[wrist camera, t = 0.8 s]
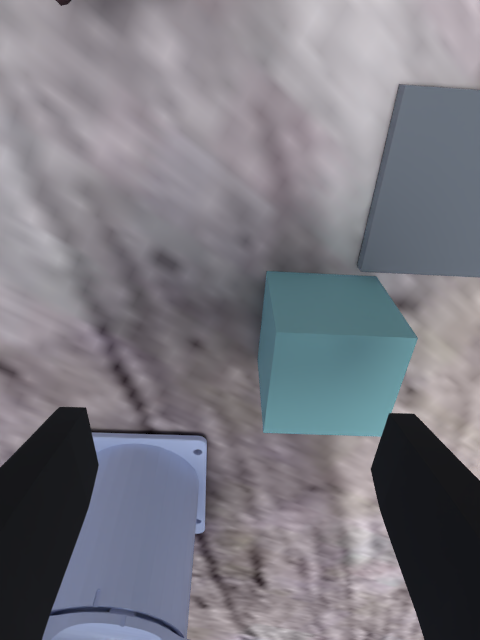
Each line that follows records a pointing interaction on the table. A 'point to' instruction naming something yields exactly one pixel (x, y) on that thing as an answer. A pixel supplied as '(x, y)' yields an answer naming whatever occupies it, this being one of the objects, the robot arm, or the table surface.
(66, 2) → the dark brown lumpy figure
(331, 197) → the table surface
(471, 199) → the slate coaster
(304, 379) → the teal cube
